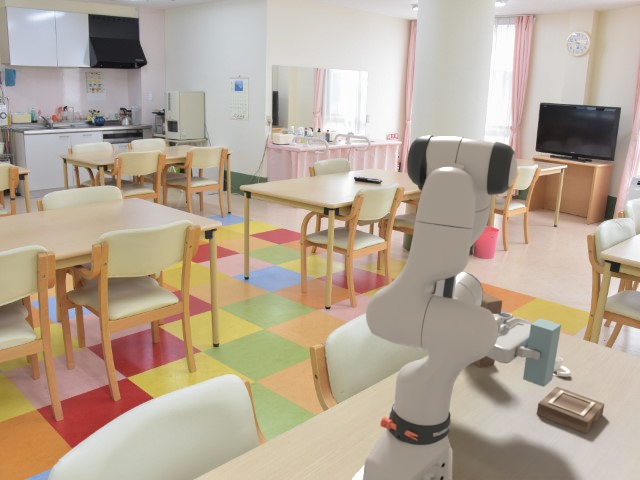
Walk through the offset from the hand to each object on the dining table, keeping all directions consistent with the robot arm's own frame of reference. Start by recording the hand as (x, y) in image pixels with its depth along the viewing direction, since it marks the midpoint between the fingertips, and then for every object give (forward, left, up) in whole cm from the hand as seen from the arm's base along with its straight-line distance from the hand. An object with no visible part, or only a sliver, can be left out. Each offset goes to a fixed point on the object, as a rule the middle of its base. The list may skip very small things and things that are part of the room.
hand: (546, 351), depth 138 cm
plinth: (+13, -4, -20) cm, 24 cm away
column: (0, +1, -7) cm, 8 cm away
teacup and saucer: (+31, +8, -21) cm, 38 cm away
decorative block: (+24, +28, -20) cm, 42 cm away
